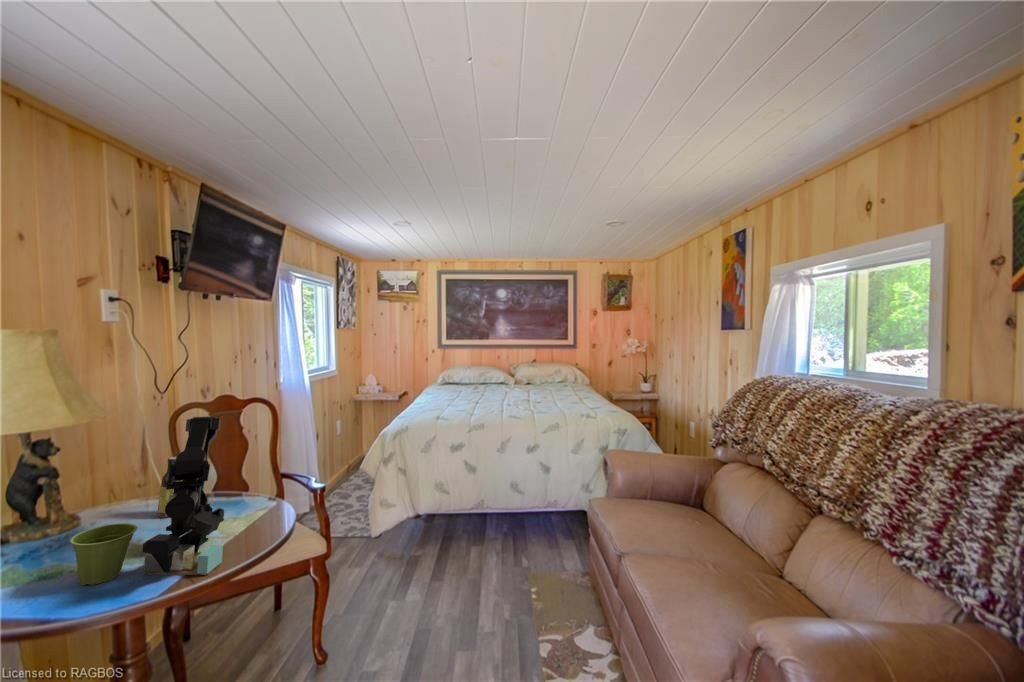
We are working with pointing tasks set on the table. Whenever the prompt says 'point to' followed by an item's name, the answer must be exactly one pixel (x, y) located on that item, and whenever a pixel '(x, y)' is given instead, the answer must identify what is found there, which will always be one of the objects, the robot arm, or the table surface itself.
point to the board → (180, 572)
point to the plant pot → (102, 551)
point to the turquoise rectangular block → (210, 559)
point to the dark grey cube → (152, 564)
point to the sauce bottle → (165, 491)
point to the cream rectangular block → (185, 558)
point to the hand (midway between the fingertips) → (181, 562)
